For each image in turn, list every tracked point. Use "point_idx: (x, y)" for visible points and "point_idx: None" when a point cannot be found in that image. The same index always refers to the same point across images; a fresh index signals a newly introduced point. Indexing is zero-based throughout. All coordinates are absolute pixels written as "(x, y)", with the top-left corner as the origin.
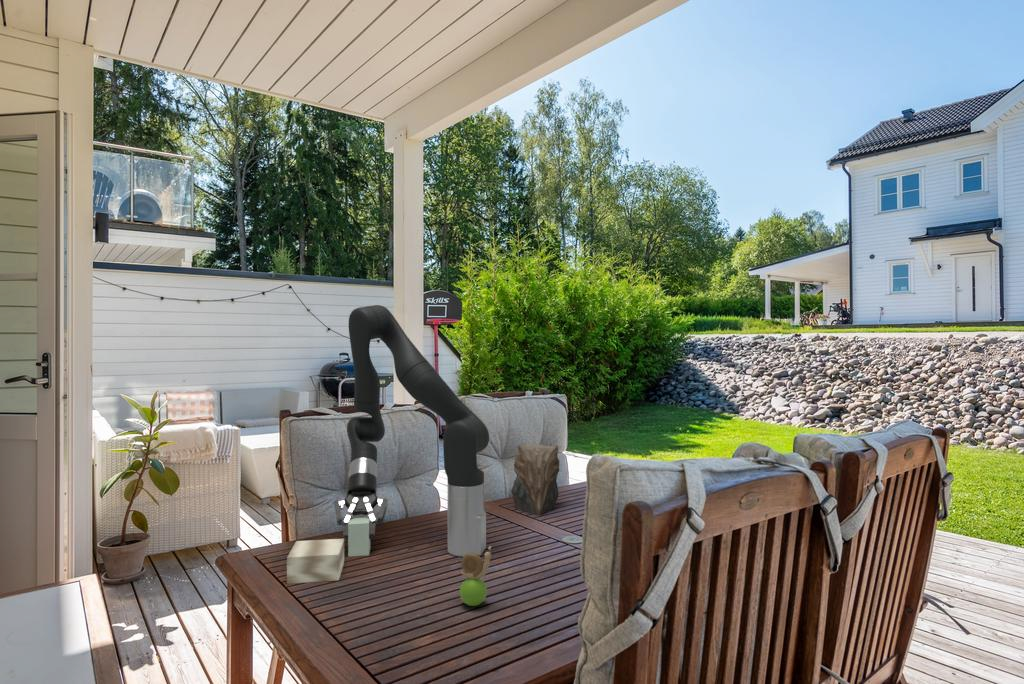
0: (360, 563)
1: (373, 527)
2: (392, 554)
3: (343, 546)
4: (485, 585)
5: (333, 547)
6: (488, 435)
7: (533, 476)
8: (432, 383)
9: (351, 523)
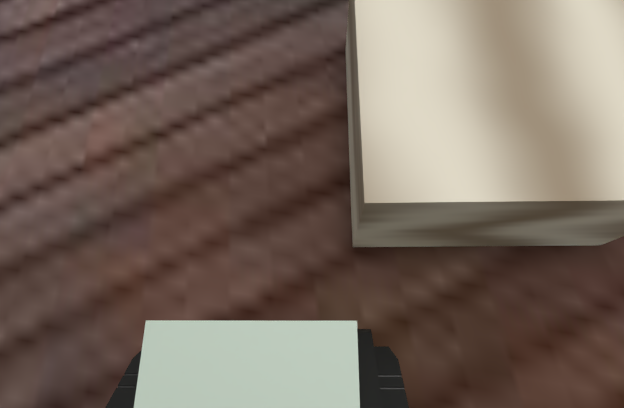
0: (267, 219)
1: (124, 394)
2: (92, 329)
3: (358, 177)
4: None
5: (404, 48)
6: None
7: None
8: None
9: (324, 342)
